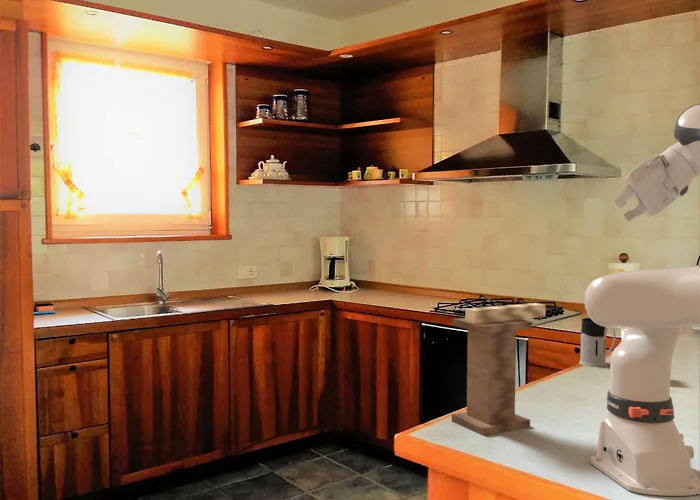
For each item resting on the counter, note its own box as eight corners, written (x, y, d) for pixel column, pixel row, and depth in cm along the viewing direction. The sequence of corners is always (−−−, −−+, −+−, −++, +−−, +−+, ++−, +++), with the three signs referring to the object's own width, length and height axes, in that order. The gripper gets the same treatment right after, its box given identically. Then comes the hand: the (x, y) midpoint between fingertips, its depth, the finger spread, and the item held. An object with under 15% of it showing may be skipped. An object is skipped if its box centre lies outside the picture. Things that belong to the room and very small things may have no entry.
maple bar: (535, 314, 167) (535, 303, 167) (545, 316, 164) (545, 304, 163) (465, 321, 156) (465, 308, 156) (474, 323, 153) (474, 310, 153)
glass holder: (593, 360, 229) (594, 317, 228) (624, 369, 216) (625, 323, 215) (573, 362, 226) (574, 318, 225) (603, 371, 212) (604, 325, 212)
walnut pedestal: (496, 412, 168) (497, 314, 166) (530, 426, 157) (531, 321, 156) (451, 421, 161) (452, 319, 160) (483, 435, 151) (485, 326, 149)
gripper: (674, 161, 140) (620, 205, 144) (688, 195, 156) (639, 234, 160) (653, 143, 144) (601, 186, 147) (668, 178, 160) (622, 217, 163)
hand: (621, 211), depth 154 cm, fingers open, 8 cm apart
